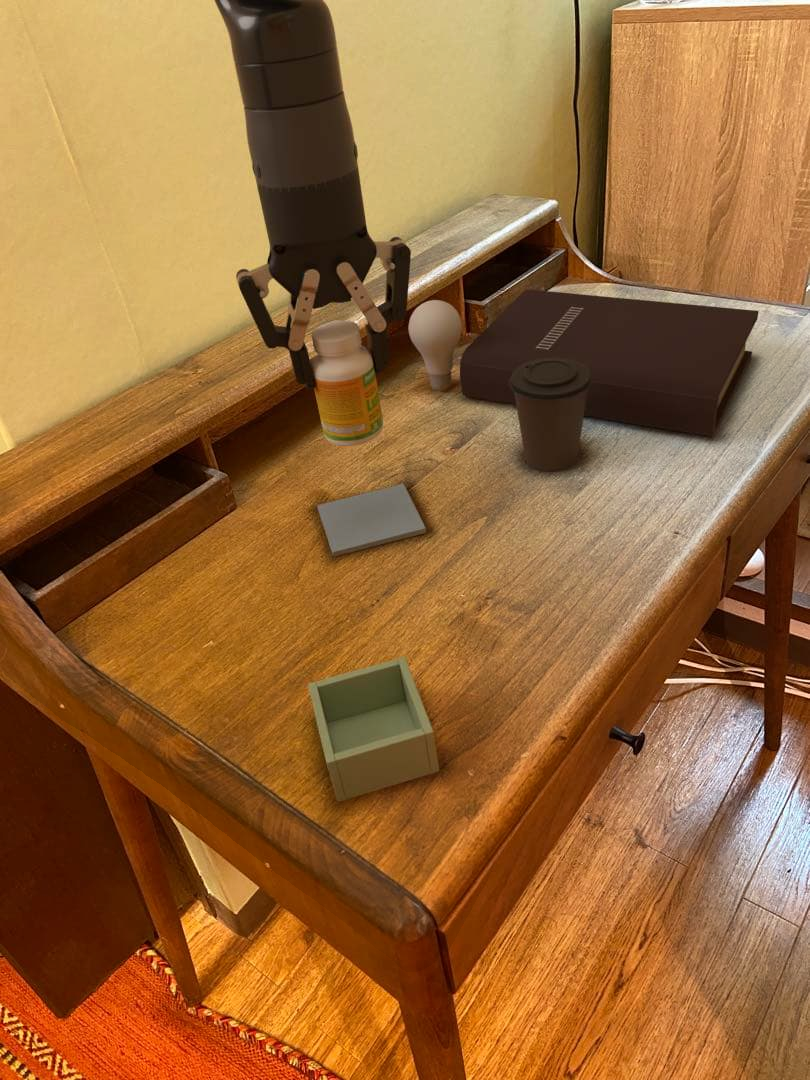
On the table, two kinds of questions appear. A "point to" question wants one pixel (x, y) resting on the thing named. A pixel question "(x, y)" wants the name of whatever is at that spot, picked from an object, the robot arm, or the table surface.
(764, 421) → the table surface
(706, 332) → the book
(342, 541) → the mat
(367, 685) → the caddy
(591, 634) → the table surface
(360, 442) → the supplement bottle
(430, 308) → the lightbulb
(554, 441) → the coffee cup
